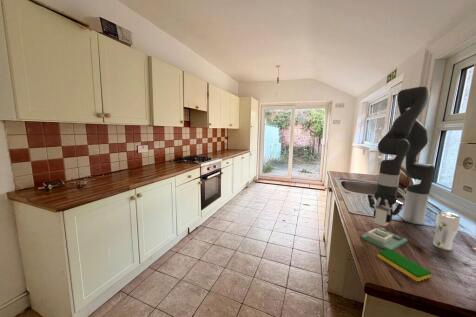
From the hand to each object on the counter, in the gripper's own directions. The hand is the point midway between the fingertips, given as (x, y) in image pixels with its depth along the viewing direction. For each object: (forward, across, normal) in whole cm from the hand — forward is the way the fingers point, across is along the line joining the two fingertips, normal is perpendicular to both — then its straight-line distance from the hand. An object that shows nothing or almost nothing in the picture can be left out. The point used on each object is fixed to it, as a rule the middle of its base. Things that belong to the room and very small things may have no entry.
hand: (381, 219), depth 88 cm
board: (+10, -1, -2) cm, 10 cm away
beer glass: (+10, -16, -20) cm, 28 cm away
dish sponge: (+11, -13, +12) cm, 21 cm away
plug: (+2, 0, 0) cm, 2 cm away
